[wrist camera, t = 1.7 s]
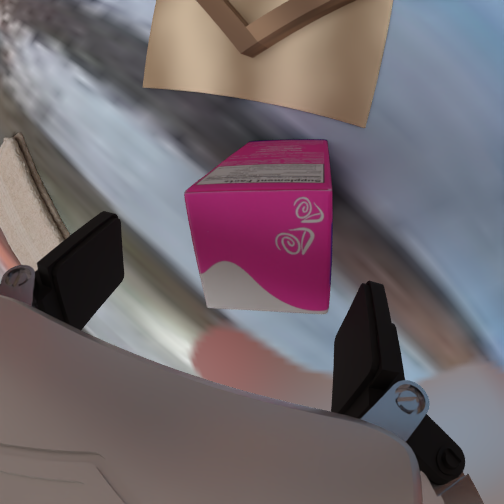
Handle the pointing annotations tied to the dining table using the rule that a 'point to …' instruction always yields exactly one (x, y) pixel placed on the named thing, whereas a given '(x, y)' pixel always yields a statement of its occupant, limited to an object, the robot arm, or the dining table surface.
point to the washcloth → (26, 205)
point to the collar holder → (272, 52)
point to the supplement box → (265, 228)
